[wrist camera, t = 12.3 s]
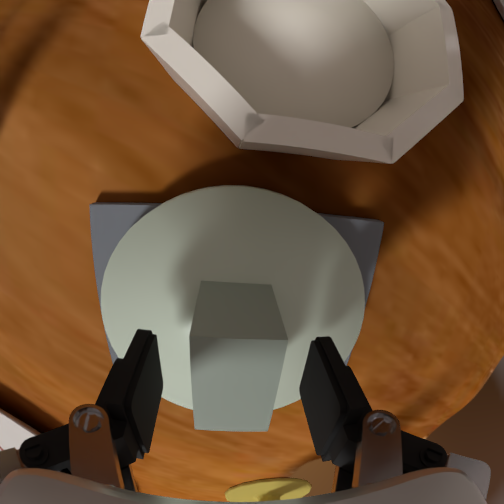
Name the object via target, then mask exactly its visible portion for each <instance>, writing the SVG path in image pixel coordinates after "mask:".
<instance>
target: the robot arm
mask: <svg viewBox="0 0 504 504" xmlns="http://www.w3.org/2000/svg"><path fill="white" fill-rule="evenodd" d="M493 1H494V3H495V5H496V7H497V9H498V11H499V13H500V14H501V16H502V18H503V20H504V0H493ZM162 391H163V377H162V370H161V364H160V357H159V349H158V341H157V335H156V334H152V331H151V330H144V329H137V331H136V333H135V335H134V337H133V339H132V341H131V343H130V345H129V348H128V350H127V352H126V354H125V356H124V358H123V359H122V358H117V359H116V360H115V362H114V364H113V366H112V368H111V370H110V372H109V375H108V377H107V379H106V381H105V383H104V385H103V388H102V390H101V392H100V394H99V397H98V399H97V401H96V404H95V405H94V404H84V405H80V406H78V407H76V408H75V409H74V410H73V411H72V412H71V414H70V417H69V424H67V425H64V426H61V427H59V428H56V429H53V430H51V431H48V432H45V433H42V434H39V435H36V436H33V437H30V438H28V439H26V440H25V441H24V442H23V443H22V444H21V446H20V449H17V450H16V448H15V447H13V448H10V449H6V450H3V451H0V504H487V503H486V496H487V492H488V486H489V481H490V475H491V472H490V468H489V466H488V465H487V464H486V463H485V462H482V461H479V460H475V459H471V458H467V457H464V456H460V455H457V454H453V453H450V454H449V455H447V454H446V451H445V450H444V448H442V447H441V446H440V445H438V444H436V443H433V442H431V441H428V440H425V439H422V438H420V437H417V436H414V435H412V434H409V433H407V432H404V431H402V430H401V429H400V423H399V420H398V419H397V417H396V416H395V415H393V414H392V413H390V412H388V411H385V410H374V411H372V409H371V407H370V405H369V403H368V401H367V399H366V397H365V395H364V393H363V391H362V389H361V387H360V385H359V383H358V381H357V379H356V377H355V375H354V373H353V371H352V370H351V368H350V367H349V366H346V365H345V363H344V361H343V359H342V357H341V355H340V354H339V352H338V350H337V348H336V346H335V344H334V342H333V340H332V338H331V337H330V336H326V337H316V339H315V340H312V341H311V343H310V347H309V352H308V356H307V360H306V364H305V367H304V371H303V375H302V379H301V383H300V387H299V392H300V397H301V400H302V404H303V407H304V411H305V414H306V418H307V422H308V425H309V429H310V433H311V436H312V440H313V443H314V447H315V451H316V454H317V455H321V457H322V461H329V460H332V463H333V464H335V465H336V468H335V474H334V481H333V486H332V491H331V493H328V494H323V495H317V496H311V497H303V498H295V499H286V500H275V501H259V502H213V501H197V500H186V499H177V498H169V497H162V496H156V495H150V494H145V493H139V492H138V490H137V486H136V483H135V479H134V475H133V471H132V467H131V463H133V462H135V461H136V458H139V459H143V458H144V453H149V451H150V446H151V441H152V436H153V431H154V427H155V422H156V418H157V413H158V409H159V404H160V400H161V396H162Z"/></svg>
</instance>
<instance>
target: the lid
mask: <svg viewBox="0 0 504 504" xmlns="http://www.w3.org/2000/svg"><path fill="white" fill-rule="evenodd" d="M364 308H365V293H364V284H363V280H362V275H361V271H360V269H359V266H358V263H357V261H356V258H355V256H354V255H353V253H352V251H351V249H350V248H349V246H348V244H347V243H346V241H345V240H344V239H343V238H342V236H341V235H340V234H339V233H338V232H337V230H336V229H335V228H334V227H333V226H332V225H330V224H329V223H328V222H327V221H326V220H325V219H324V218H323V217H321V216H320V215H319V214H317V213H316V212H314V211H313V210H311V209H310V208H308V207H307V206H305V205H303V204H302V203H300V202H299V201H296V200H294V199H292V198H290V197H288V196H286V195H283V194H281V193H278V192H274V191H271V190H268V189H264V188H259V187H252V186H245V185H220V186H212V187H205V188H200V189H197V190H193V191H190V192H186V193H183V194H181V195H179V196H176V197H174V198H172V199H170V200H168V201H166V202H164V203H163V204H161V205H159V206H158V207H156V208H155V209H153V210H152V211H150V212H149V213H147V214H146V215H144V216H143V217H142V218H141V219H140V220H139V221H138V222H137V223H135V224H134V225H133V226H132V227H131V228H130V229H129V230H128V231H127V233H126V234H125V235H124V236H123V238H122V239H121V240H120V241H119V243H118V244H117V246H116V248H115V250H114V251H113V253H112V255H111V257H110V259H109V262H108V264H107V267H106V270H105V272H104V277H103V282H102V287H101V311H102V319H103V323H104V327H105V331H106V334H107V336H108V338H109V341H110V343H111V346H112V347H113V349H114V351H115V353H116V354H117V356H118V358H122V359H123V358H124V356H125V354H126V352H127V350H128V348H129V345H130V343H131V341H132V339H133V337H134V335H135V333H136V331H137V329H144V330H151V331H152V334H156V335H157V341H158V349H159V357H160V364H161V370H162V377H163V391H162V396H161V397H163V398H164V399H166V400H168V401H170V402H172V403H175V404H177V405H180V406H182V407H185V408H188V409H192V410H193V413H194V425H195V429H199V430H214V431H268V428H269V424H270V420H271V416H272V412H273V410H274V409H277V408H280V407H283V406H286V405H288V404H291V403H293V402H295V401H297V400H299V399H301V397H300V392H299V387H300V383H301V379H302V375H303V371H304V367H305V364H306V360H307V356H308V352H309V347H310V343H311V341H312V340H315V339H316V337H326V336H330V337H331V338H332V340H333V342H334V344H335V346H336V348H337V350H338V352H339V354H340V355H341V357H342V359H343V361H345V360H346V359H347V357H348V356H349V354H350V352H351V350H352V349H353V347H354V345H355V343H356V340H357V338H358V335H359V333H360V330H361V326H362V322H363V318H364Z"/></svg>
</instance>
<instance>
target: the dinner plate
mask: <svg viewBox="0 0 504 504" xmlns="http://www.w3.org/2000/svg"><path fill="white" fill-rule="evenodd" d="M39 434H41V433H40V432H38V431H37V430H35V429H34V428H32V427H31V426H29V425H27V424H26V423H24V422H22V421H21V420H19V419H17V418H15V417H14V416H12V415H10V414H9V413H7V412H5V411H4V410H2V409H0V451H3V450H6V449H10V448H13V447H15V448H16V450H17V449H20V446H21V444H22V443H23V442H24V441H25V440H26V439H28V438H30V437H33V436H36V435H39Z"/></svg>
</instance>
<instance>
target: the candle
mask: <svg viewBox="0 0 504 504" xmlns="http://www.w3.org/2000/svg"><path fill="white" fill-rule="evenodd" d="M311 487H312V485H311V484H310V483H309V482H308V481H306V480H302V479H297V478H274V479H263V480H256V481H251V482H246V483H242V484H239V485H236V486H234V487H231V488H229V489H228V490H227V491H226V492H225V496H226V499H227V500H228V501H230V502H259V501H275V500H286V499H295V498H301V497H303V496H304V495H306V494H307V493H309V492H310V489H311Z"/></svg>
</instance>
